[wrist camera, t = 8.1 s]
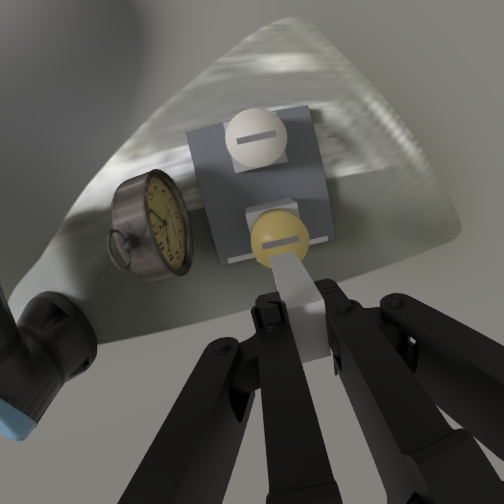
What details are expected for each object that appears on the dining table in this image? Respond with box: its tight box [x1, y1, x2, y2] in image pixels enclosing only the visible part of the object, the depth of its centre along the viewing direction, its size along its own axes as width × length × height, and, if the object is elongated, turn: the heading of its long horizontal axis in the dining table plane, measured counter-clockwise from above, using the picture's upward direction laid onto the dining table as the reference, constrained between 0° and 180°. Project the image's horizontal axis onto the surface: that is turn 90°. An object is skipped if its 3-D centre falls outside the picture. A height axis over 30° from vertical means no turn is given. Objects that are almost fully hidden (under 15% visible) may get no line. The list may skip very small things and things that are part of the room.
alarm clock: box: [106, 169, 193, 282], centre depth 26 cm, size 11×5×16 cm, turn 14°
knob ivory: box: [225, 108, 287, 168], centre depth 25 cm, size 5×5×8 cm
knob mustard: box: [251, 208, 310, 269], centre depth 28 cm, size 5×5×8 cm
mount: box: [186, 105, 336, 266], centre depth 29 cm, size 14×16×7 cm
